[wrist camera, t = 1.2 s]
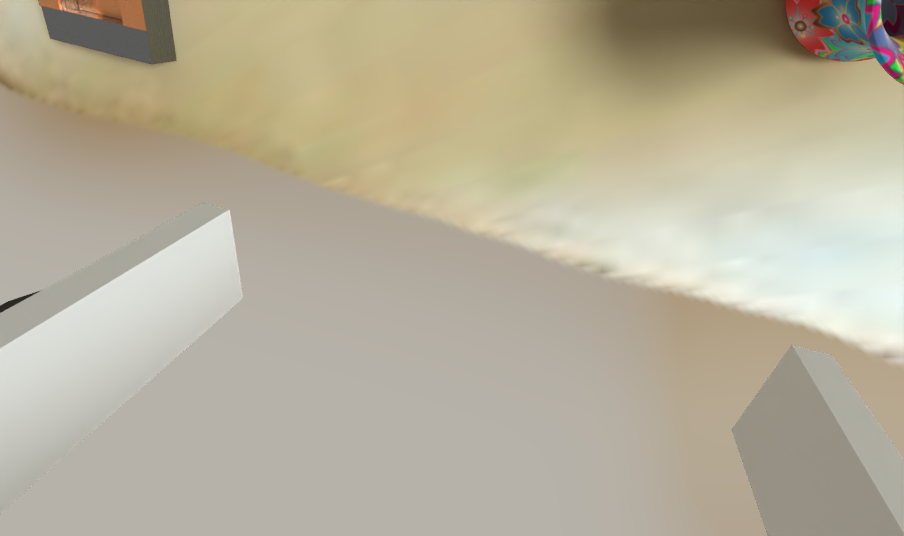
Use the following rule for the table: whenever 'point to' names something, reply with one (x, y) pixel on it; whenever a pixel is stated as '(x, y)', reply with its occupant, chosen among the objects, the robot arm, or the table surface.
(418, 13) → the table surface
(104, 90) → the table surface
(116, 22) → the rail
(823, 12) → the mug
